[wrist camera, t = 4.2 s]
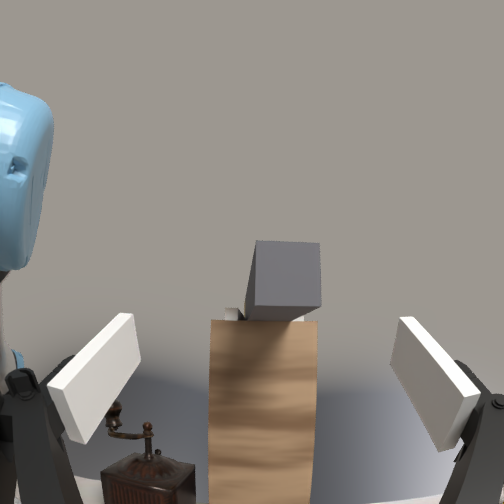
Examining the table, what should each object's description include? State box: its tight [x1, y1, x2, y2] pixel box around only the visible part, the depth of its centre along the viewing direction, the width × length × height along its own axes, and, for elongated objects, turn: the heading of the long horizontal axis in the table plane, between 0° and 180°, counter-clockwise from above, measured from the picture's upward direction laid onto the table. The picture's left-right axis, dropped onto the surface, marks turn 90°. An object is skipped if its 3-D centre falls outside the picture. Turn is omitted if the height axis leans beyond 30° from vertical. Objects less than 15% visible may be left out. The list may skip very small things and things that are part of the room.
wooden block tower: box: [208, 308, 317, 504], centre depth 29 cm, size 10×10×31 cm
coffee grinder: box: [101, 399, 196, 504], centre depth 33 cm, size 16×11×18 cm
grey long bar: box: [244, 241, 321, 321], centre depth 32 cm, size 28×4×4 cm, turn 3°
